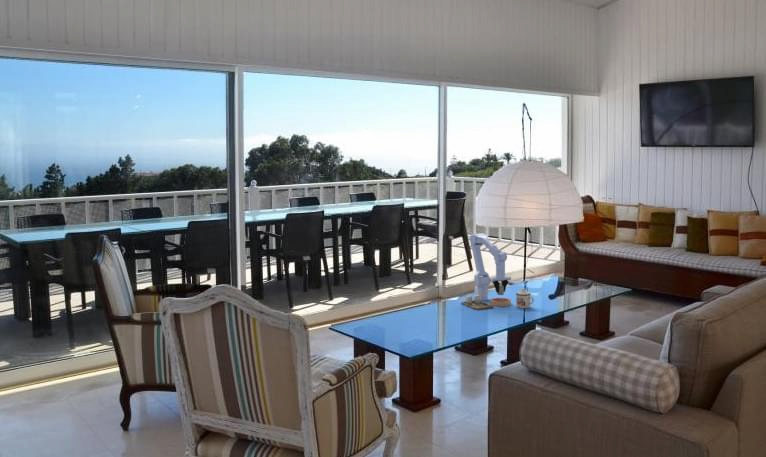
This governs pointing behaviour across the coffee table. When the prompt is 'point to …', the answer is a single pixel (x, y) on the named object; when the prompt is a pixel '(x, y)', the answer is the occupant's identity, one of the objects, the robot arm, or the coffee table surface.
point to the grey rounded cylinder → (501, 290)
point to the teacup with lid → (523, 299)
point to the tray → (478, 307)
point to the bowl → (500, 301)
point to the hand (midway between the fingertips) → (500, 292)
